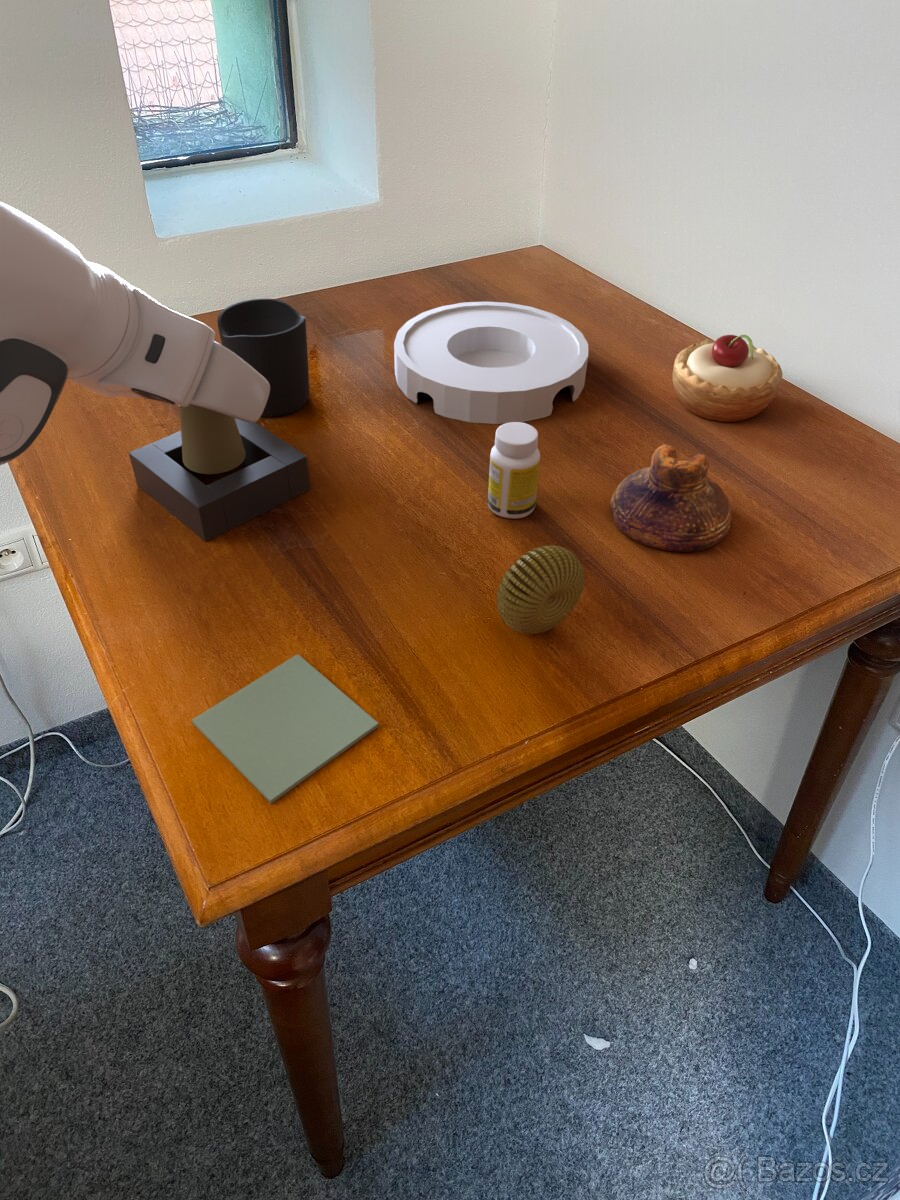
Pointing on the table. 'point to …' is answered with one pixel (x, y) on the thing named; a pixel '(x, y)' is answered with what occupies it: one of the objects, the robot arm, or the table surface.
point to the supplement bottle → (514, 470)
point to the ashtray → (490, 361)
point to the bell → (672, 504)
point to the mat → (284, 726)
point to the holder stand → (222, 481)
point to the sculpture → (540, 589)
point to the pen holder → (270, 349)
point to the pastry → (726, 378)
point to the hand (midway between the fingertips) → (208, 395)
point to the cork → (210, 440)
